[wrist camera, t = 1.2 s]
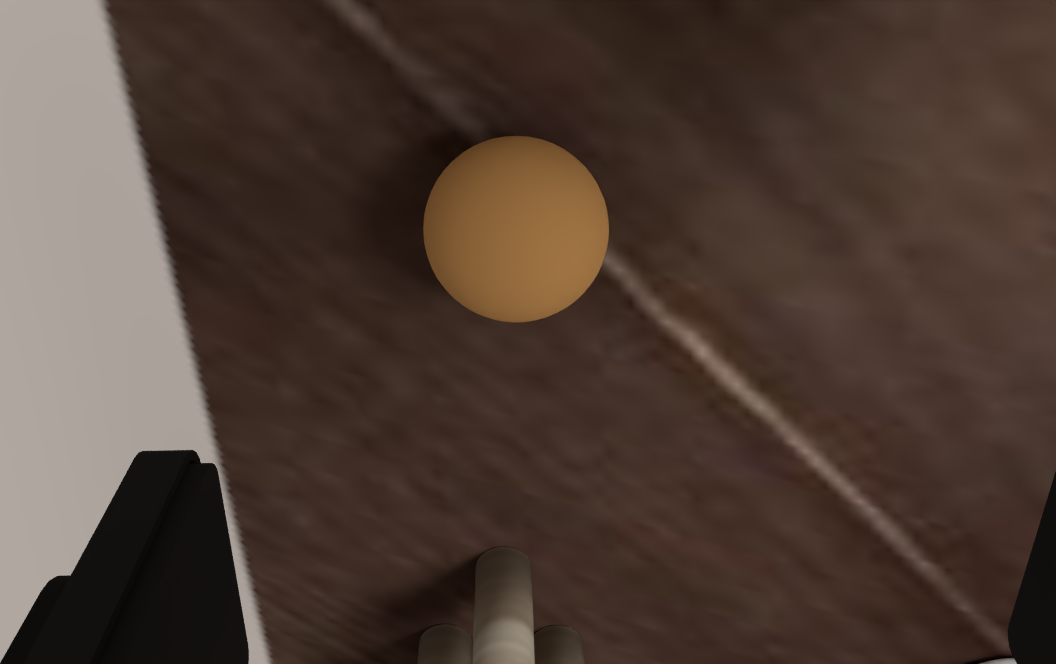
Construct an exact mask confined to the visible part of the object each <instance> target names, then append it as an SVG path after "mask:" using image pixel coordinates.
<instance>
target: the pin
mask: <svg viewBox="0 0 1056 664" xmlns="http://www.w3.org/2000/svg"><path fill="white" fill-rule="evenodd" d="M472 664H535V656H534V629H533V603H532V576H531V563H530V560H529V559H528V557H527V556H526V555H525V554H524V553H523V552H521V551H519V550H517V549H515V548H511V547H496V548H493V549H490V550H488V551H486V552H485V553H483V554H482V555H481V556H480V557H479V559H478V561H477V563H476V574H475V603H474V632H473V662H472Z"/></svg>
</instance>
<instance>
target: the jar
mask: <svg viewBox="0 0 1056 664" xmlns="http://www.w3.org/2000/svg"><path fill="white" fill-rule="evenodd" d="M979 664H1017V663H1016V661H1015V660H1014V658H1004V659H997V660H991V661H986V662H983V663H979Z"/></svg>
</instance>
